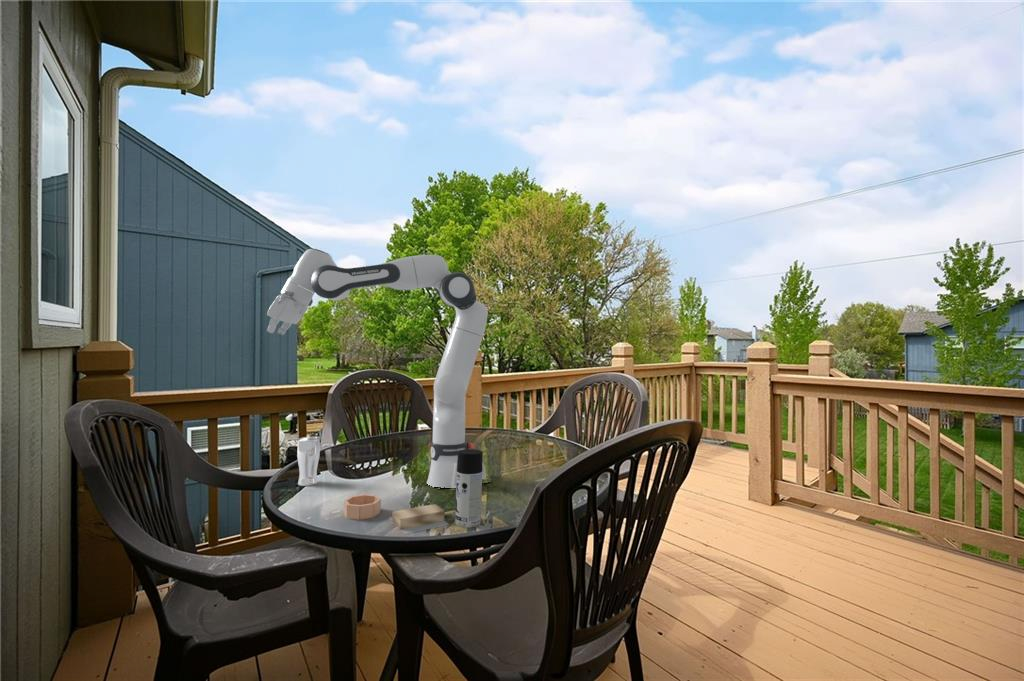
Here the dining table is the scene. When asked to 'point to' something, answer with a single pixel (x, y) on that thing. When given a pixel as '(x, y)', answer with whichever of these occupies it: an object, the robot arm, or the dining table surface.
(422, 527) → the mat
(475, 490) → the spray can
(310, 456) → the beer glass
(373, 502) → the bowl
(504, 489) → the dining table surface
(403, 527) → the board
